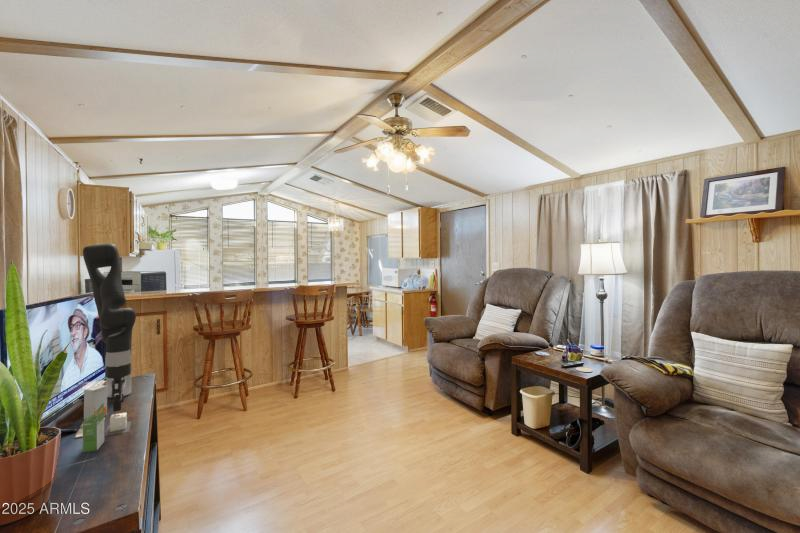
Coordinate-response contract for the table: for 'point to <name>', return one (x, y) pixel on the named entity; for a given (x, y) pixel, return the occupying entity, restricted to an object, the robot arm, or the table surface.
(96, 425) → the ink box
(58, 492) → the table surface
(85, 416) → the skincare box
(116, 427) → the die
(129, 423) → the mat
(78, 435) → the board
